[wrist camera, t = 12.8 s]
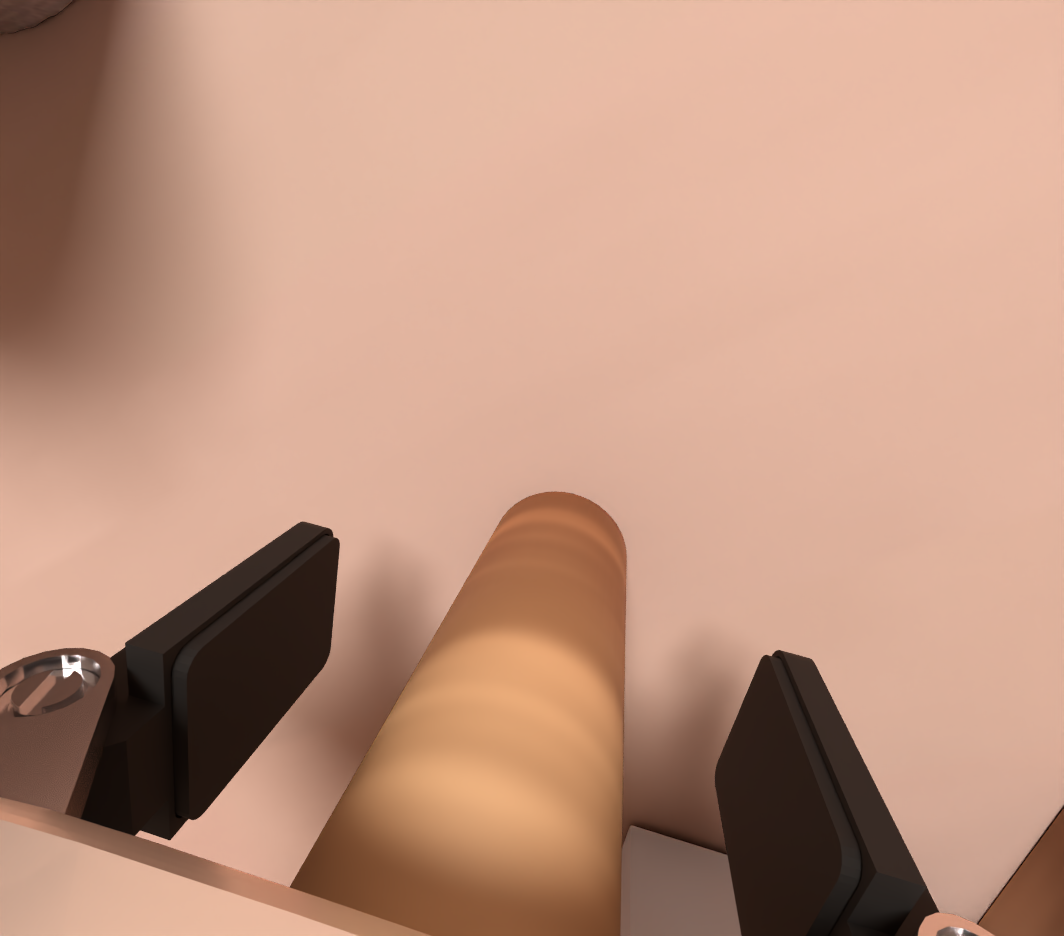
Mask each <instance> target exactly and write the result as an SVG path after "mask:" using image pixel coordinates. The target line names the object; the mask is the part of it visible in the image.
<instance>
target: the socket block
mask: <svg viewBox="0 0 1064 936" xmlns="http://www.w3.org/2000/svg"><path fill="white" fill-rule="evenodd" d="M620 936H741V930H740V924H739V919H738V913H737V907H736V902H735V896H734V890H733V884H732V879H731V873H730V867H729V861H728V856H727V855H726V854H722V853H719V852H716V851H713V850H710V849H706V848H703V847H700V846H697V845H693V844H690V843H687V842H684V841H681V840H677V839H674V838H671V837H668V836H665V835H661V834H658V833H655V832H652V831H649V830H645V829H642V828H639V827H636V826H632V825H630V828H629V830H628V833H627V836H626V839H625V841H624V844H623V847H622V866H621V928H620Z"/></svg>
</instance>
